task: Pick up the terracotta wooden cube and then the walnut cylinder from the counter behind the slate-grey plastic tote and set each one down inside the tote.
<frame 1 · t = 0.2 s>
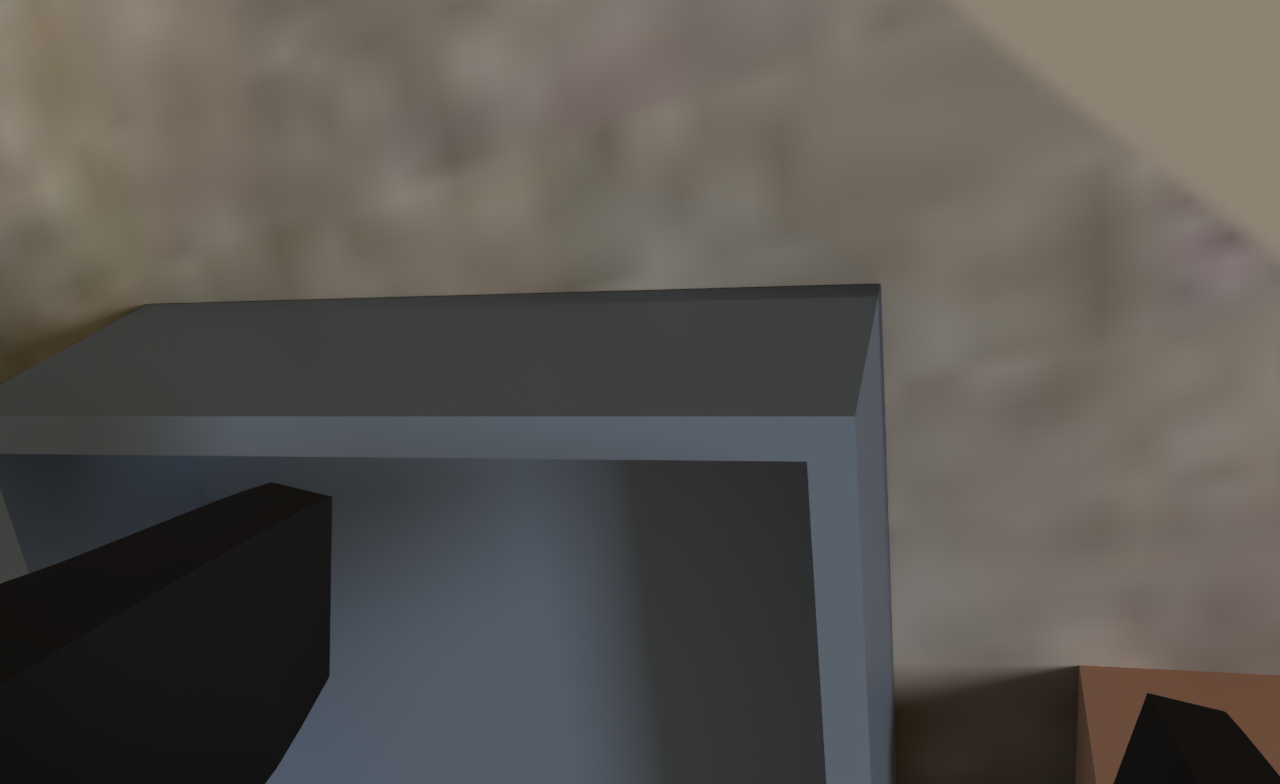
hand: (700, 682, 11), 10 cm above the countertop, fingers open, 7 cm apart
slate tote: (550, 713, 24), on the countertop
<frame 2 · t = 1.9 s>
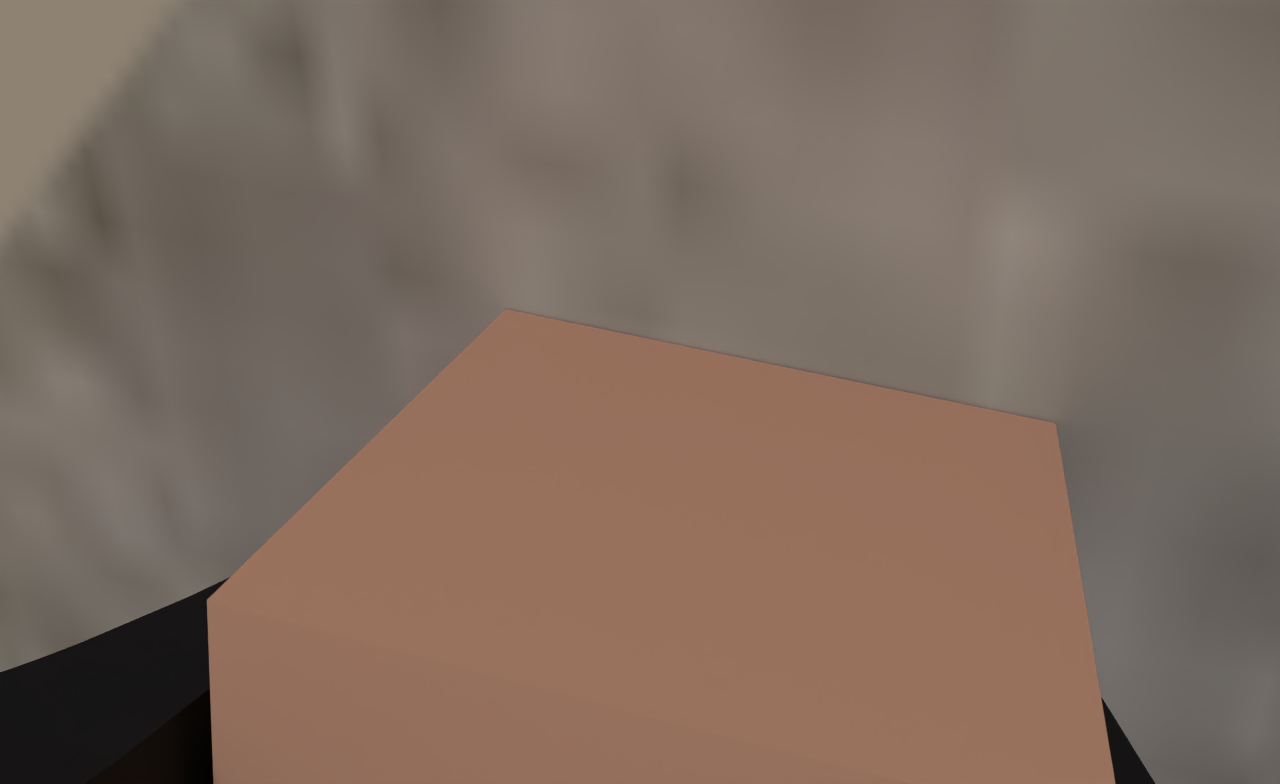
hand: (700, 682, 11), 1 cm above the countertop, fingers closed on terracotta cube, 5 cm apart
terracotta cube: (727, 595, 12), on the countertop, touching gripper
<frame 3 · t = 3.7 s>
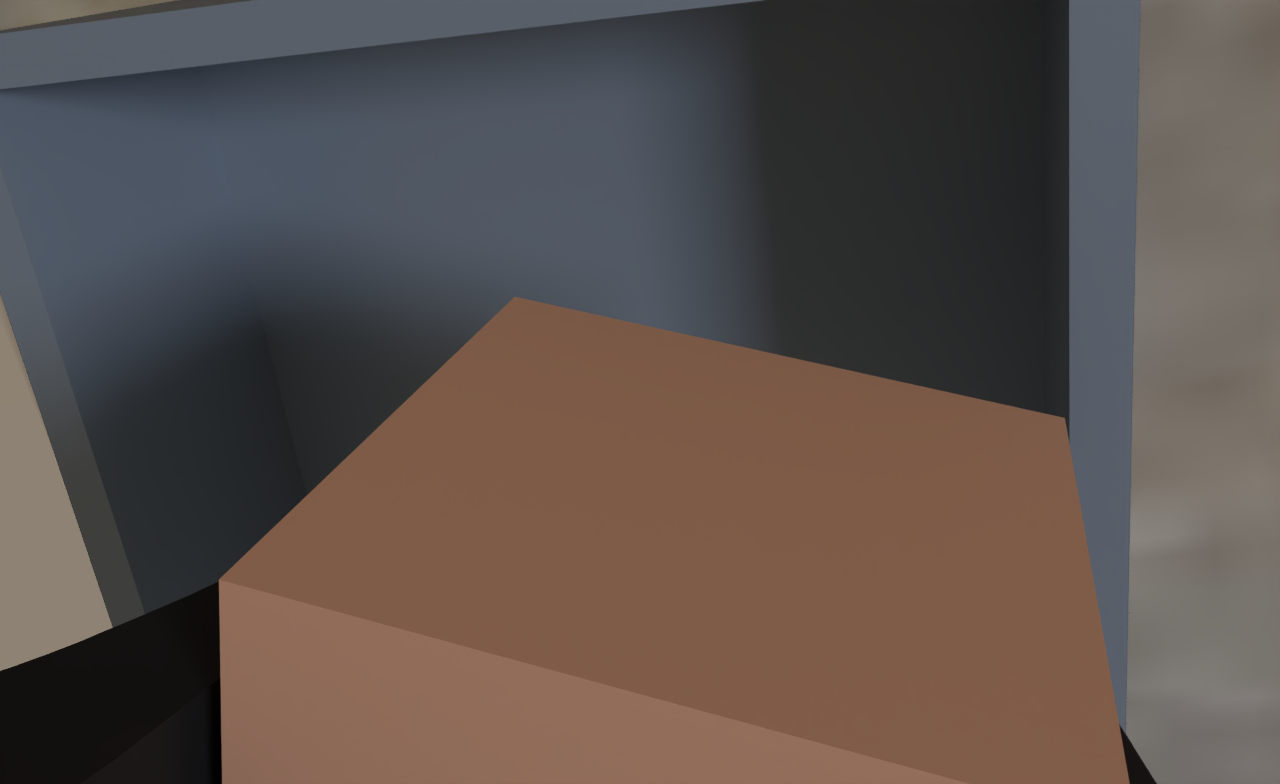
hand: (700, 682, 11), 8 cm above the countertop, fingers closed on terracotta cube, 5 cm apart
slate tote: (657, 502, 20), on the countertop
terracotta cube: (732, 586, 12), point 7 cm above the countertop, touching gripper
when the fingers open (4 cm above the countertop, at t = 5.4 s): terracotta cube drops 1 cm, resting on slate tote.
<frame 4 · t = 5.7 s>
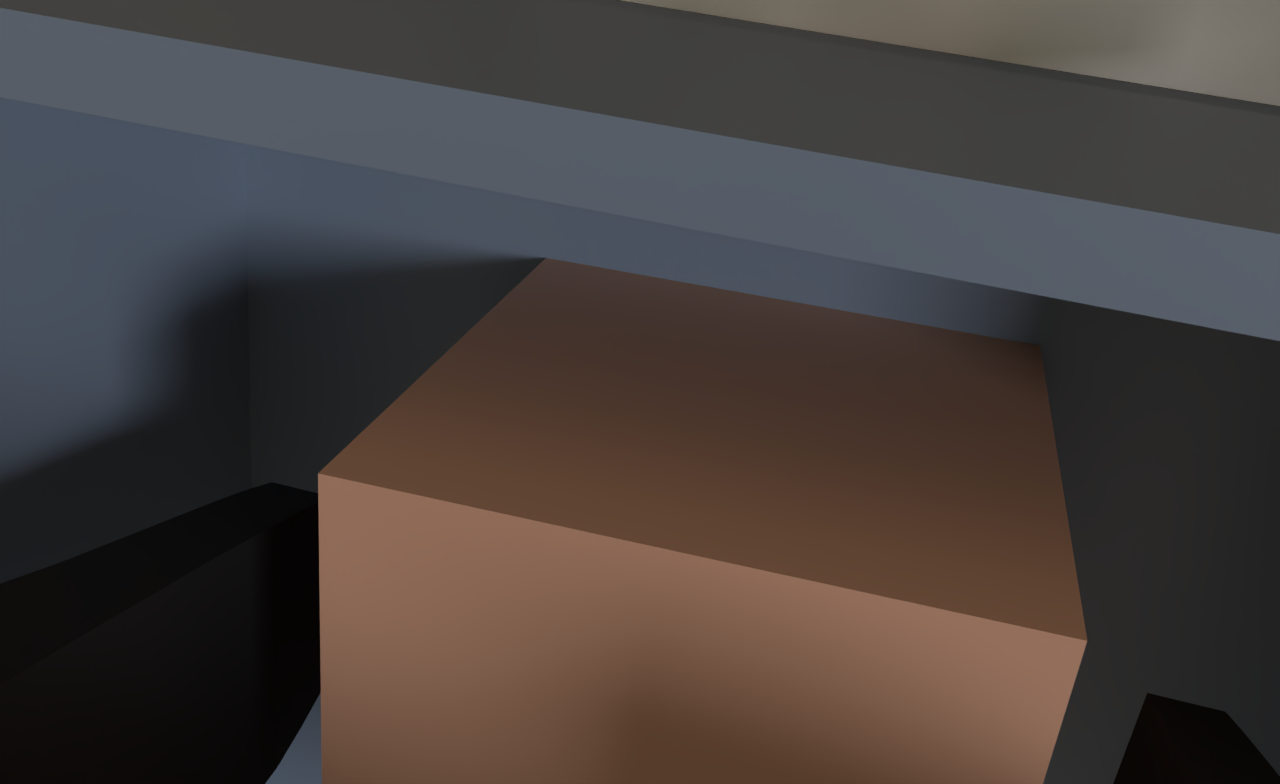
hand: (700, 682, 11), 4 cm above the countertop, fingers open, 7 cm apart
slate tote: (714, 737, 15), on the countertop
terracotta cube: (749, 514, 13), point 1 cm above the countertop, touching slate tote
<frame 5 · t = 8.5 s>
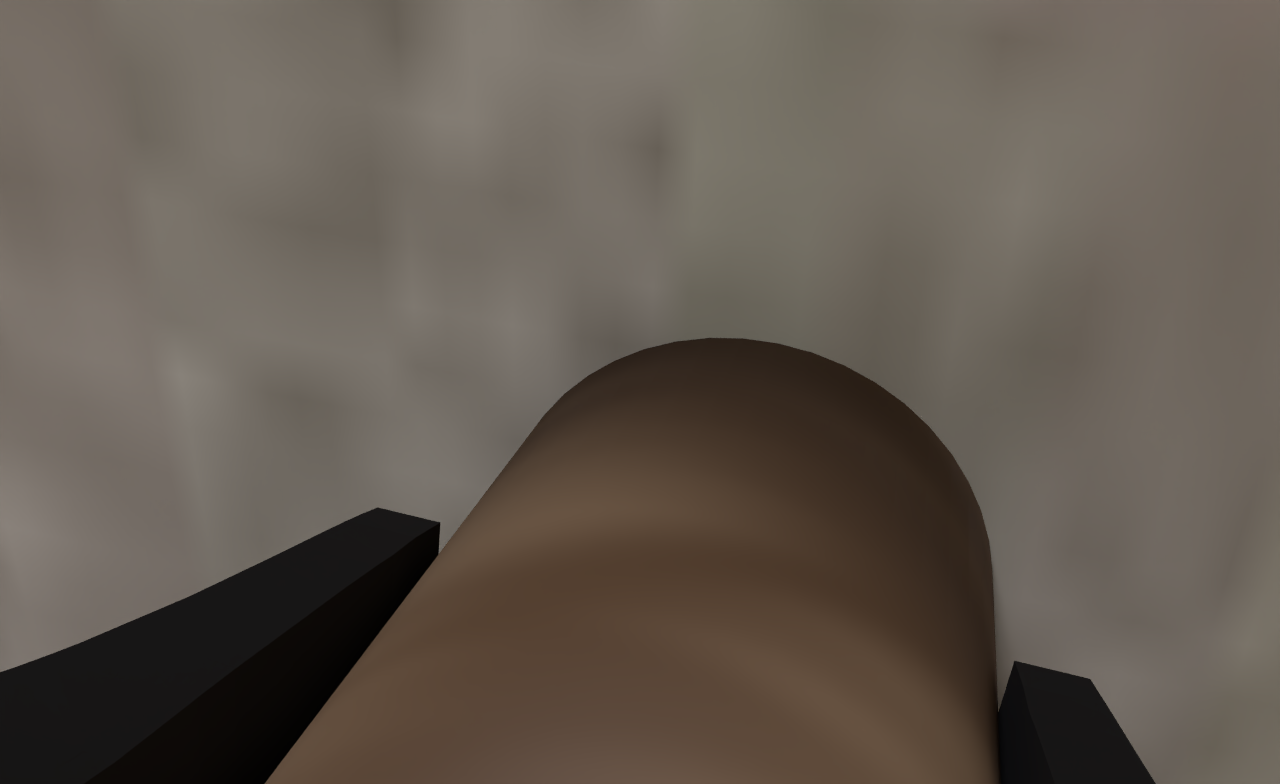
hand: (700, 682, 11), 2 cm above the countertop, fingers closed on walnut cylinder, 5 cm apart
walnut cylinder: (736, 568, 12), on the countertop, touching gripper
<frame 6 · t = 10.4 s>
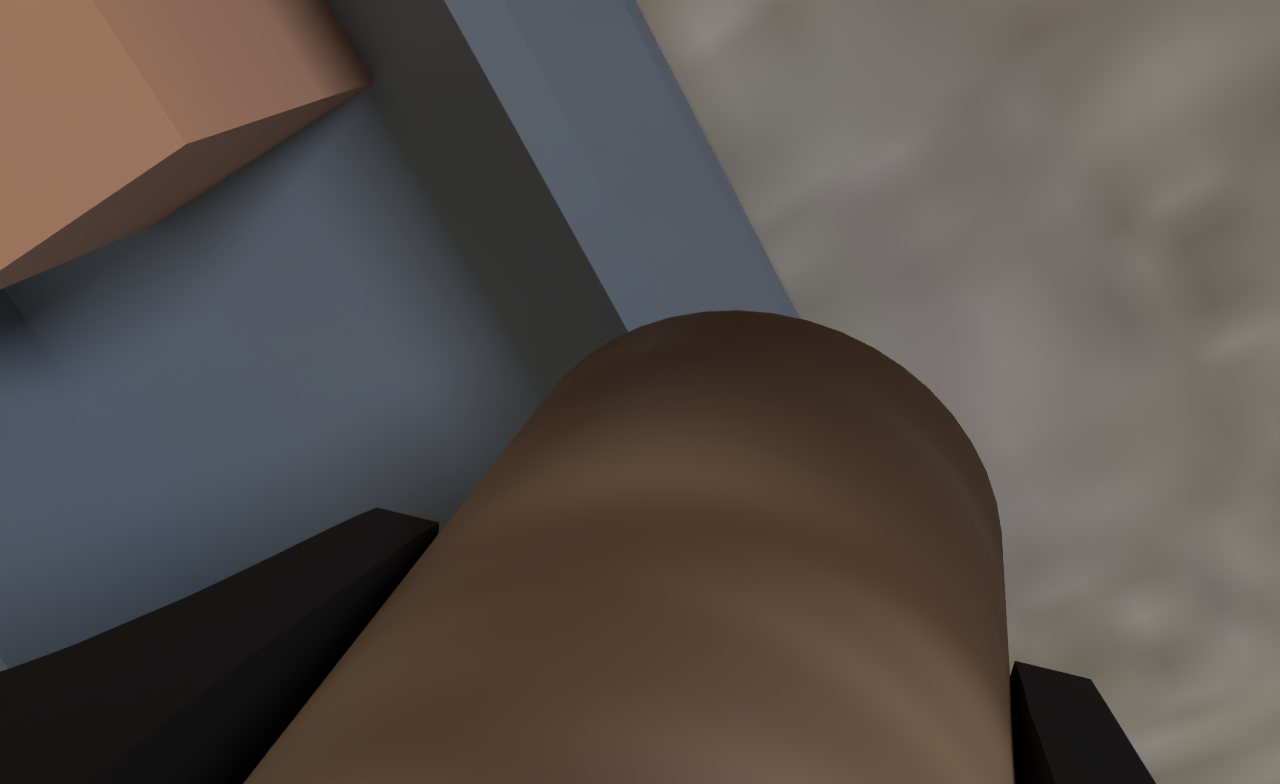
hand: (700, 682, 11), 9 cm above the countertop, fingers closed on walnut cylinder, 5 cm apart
slate tote: (310, 208, 20), on the countertop
terracotta cube: (167, 16, 19), point 1 cm above the countertop, touching slate tote
walnut cylinder: (744, 544, 12), point 7 cm above the countertop, touching gripper
when the fingers open (4 cm above the countertop, at t = 12.4 s): walnut cylinder drops 1 cm, resting on slate tote.
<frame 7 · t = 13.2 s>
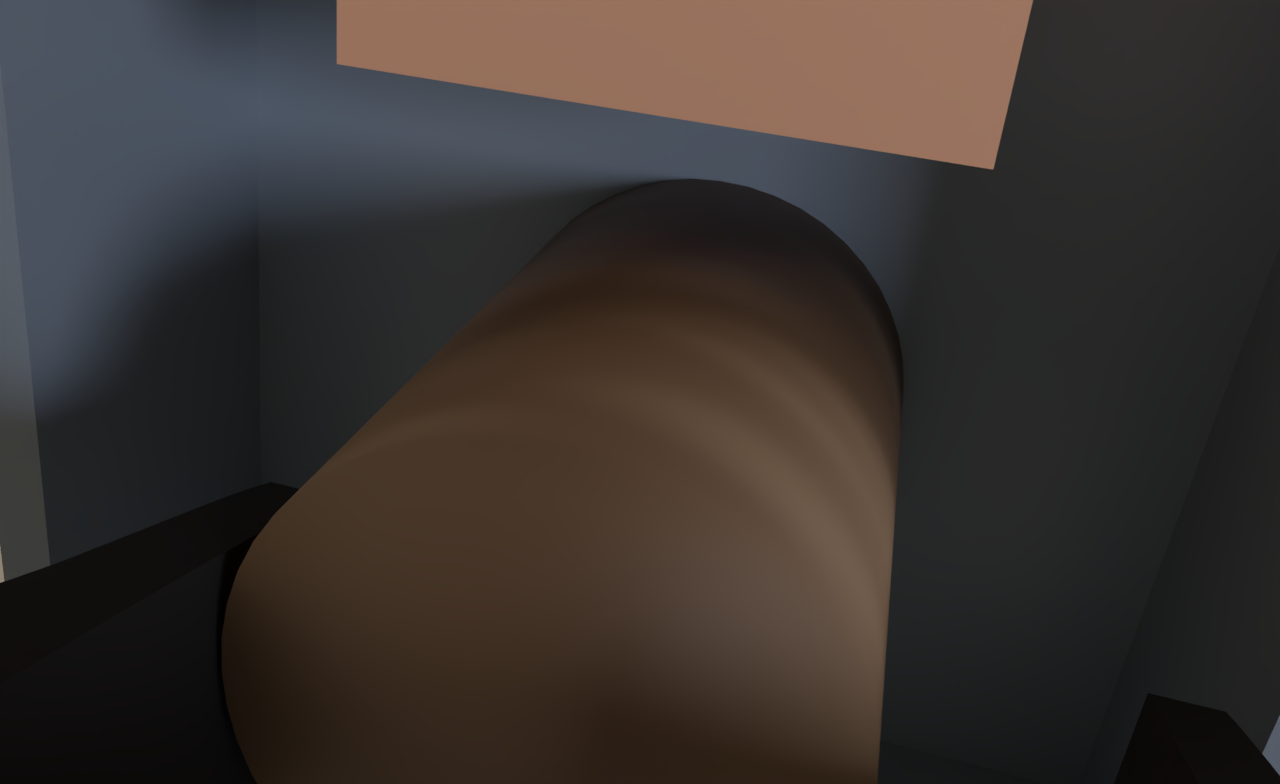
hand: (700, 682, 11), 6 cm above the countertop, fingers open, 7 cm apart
slate tote: (744, 115, 14), on the countertop
walnut cylinder: (699, 376, 15), point 1 cm above the countertop, touching gripper, slate tote
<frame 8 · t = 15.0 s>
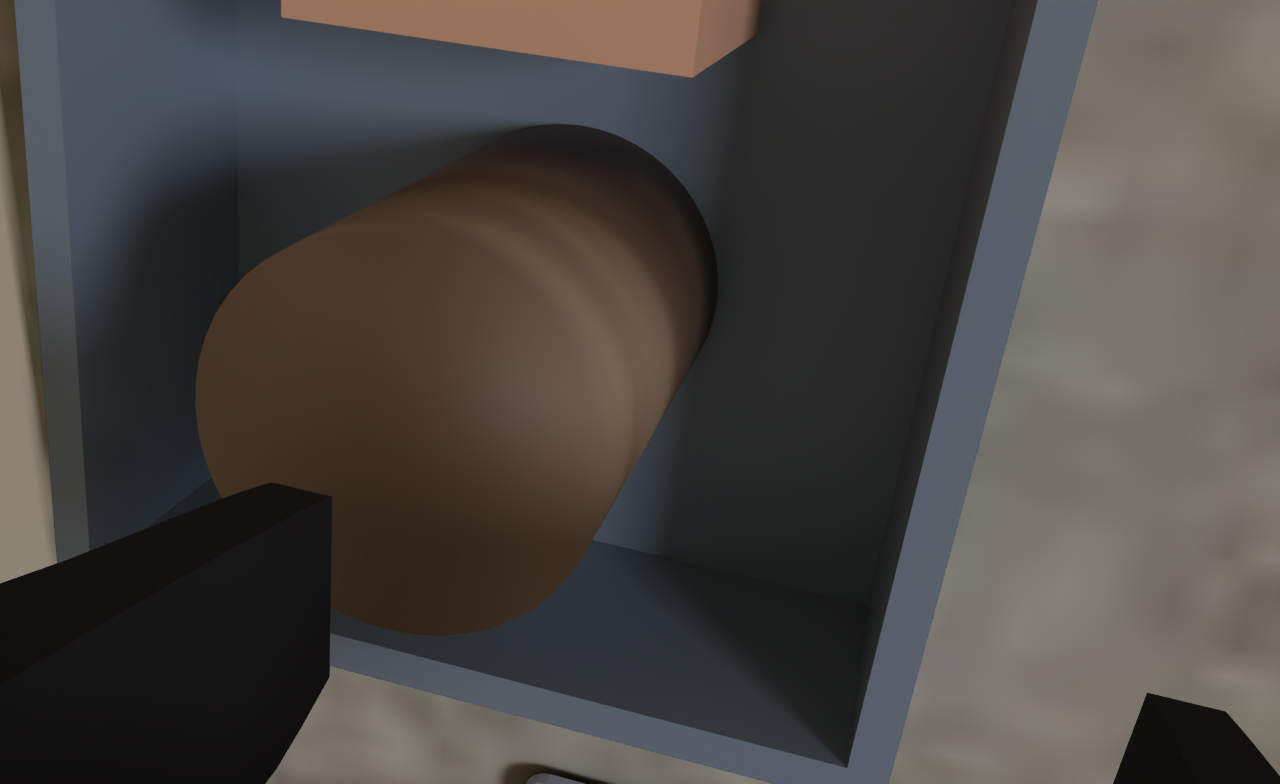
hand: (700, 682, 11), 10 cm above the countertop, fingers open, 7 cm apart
slate tote: (597, 78, 19), on the countertop
walnut cylinder: (569, 276, 20), point 1 cm above the countertop, touching slate tote
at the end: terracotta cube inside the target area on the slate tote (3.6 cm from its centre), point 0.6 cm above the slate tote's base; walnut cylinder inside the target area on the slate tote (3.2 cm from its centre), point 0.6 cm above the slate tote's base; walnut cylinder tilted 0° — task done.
